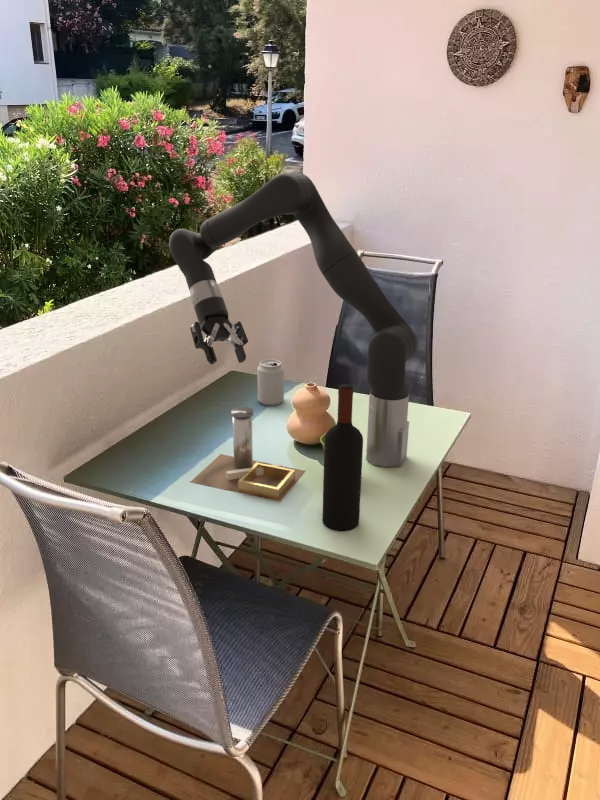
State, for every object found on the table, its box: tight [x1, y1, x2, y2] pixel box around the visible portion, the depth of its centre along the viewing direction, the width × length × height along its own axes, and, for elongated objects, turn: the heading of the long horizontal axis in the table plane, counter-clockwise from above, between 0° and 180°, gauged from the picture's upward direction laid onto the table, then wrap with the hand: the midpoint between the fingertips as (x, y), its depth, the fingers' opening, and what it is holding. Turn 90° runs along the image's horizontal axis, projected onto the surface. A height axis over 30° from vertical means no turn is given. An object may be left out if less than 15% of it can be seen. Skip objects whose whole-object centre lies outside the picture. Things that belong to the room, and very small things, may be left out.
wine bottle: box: [321, 383, 364, 533], centre depth 144 cm, size 8×8×30 cm
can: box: [256, 358, 285, 407], centre depth 206 cm, size 8×8×12 cm
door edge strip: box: [226, 463, 284, 480], centre depth 165 cm, size 1×13×2 cm, turn 108°
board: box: [189, 454, 306, 503], centre depth 165 cm, size 22×15×1 cm
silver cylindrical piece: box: [230, 406, 254, 469], centre depth 167 cm, size 5×5×14 cm
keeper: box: [238, 461, 295, 499], centre depth 161 cm, size 10×10×2 cm
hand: (228, 362), depth 173 cm, fingers open, 8 cm apart
